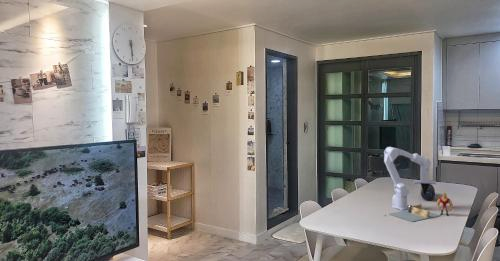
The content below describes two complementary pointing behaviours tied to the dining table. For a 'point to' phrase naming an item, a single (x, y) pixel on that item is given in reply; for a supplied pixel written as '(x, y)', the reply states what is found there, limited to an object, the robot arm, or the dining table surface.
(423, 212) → the tan piece
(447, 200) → the action figure
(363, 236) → the dining table surface
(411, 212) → the hinge post
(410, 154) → the robot arm
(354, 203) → the dining table surface
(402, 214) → the board
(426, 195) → the portable speaker
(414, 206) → the fixed fence section
